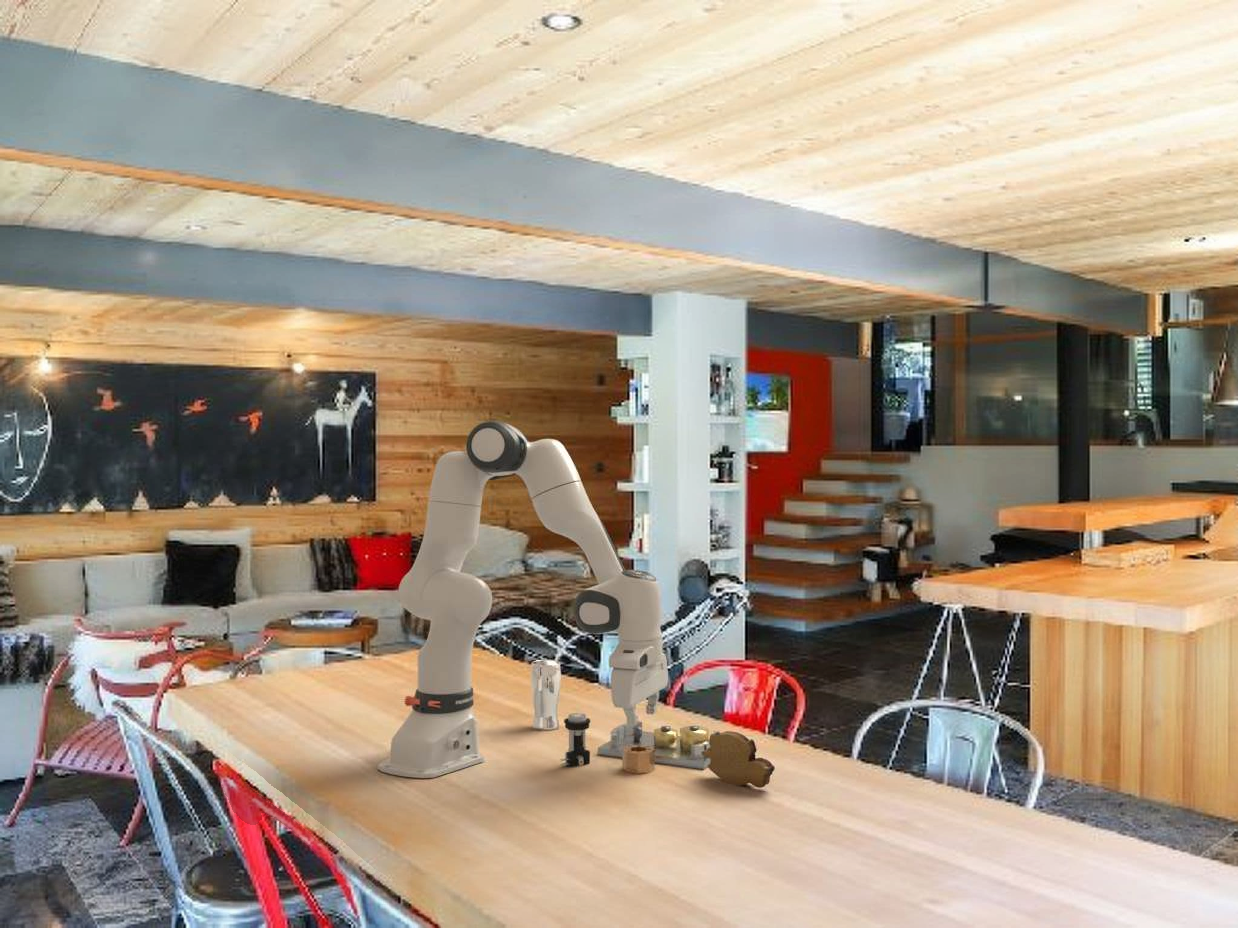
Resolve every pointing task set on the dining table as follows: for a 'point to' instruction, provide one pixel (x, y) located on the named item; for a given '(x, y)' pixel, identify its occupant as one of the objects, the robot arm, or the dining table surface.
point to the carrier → (663, 744)
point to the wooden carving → (737, 760)
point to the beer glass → (545, 693)
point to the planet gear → (638, 759)
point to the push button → (576, 740)
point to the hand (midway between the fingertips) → (642, 719)
